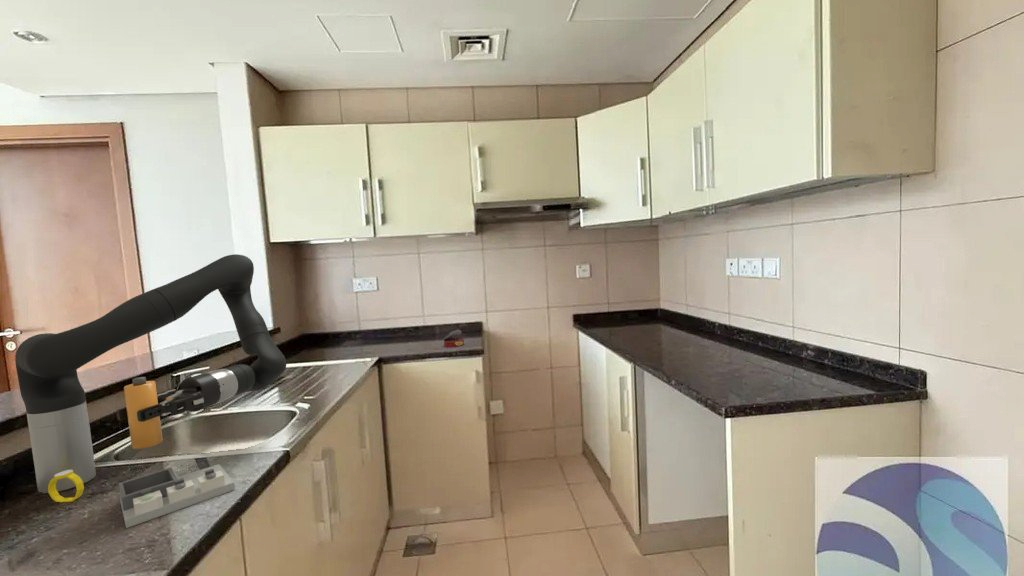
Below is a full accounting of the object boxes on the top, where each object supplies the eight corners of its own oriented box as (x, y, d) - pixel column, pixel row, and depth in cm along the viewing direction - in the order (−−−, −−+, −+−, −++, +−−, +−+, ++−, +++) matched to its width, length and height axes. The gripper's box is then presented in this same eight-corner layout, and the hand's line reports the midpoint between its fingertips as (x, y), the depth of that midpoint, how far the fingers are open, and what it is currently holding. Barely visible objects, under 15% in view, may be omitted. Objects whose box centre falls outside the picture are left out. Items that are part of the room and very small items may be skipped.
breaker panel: (120, 502, 90) (117, 480, 90) (219, 470, 102) (217, 450, 102) (126, 528, 81) (122, 503, 81) (234, 489, 93) (232, 468, 92)
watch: (47, 506, 91) (40, 478, 91) (60, 499, 94) (54, 471, 93) (77, 502, 91) (71, 474, 91) (89, 495, 94) (83, 467, 93)
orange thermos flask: (130, 444, 90) (121, 379, 89) (160, 436, 93) (152, 373, 92) (133, 451, 87) (124, 383, 86) (164, 442, 90) (156, 377, 89)
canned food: (448, 356, 225) (437, 340, 223) (449, 350, 235) (439, 334, 233) (468, 345, 225) (457, 328, 223) (468, 339, 235) (458, 323, 233)
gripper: (182, 372, 105) (98, 396, 88) (232, 373, 101) (154, 397, 85) (186, 404, 105) (103, 433, 89) (236, 406, 102) (159, 437, 85)
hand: (128, 416), depth 87 cm, fingers closed on orange thermos flask, 4 cm apart
